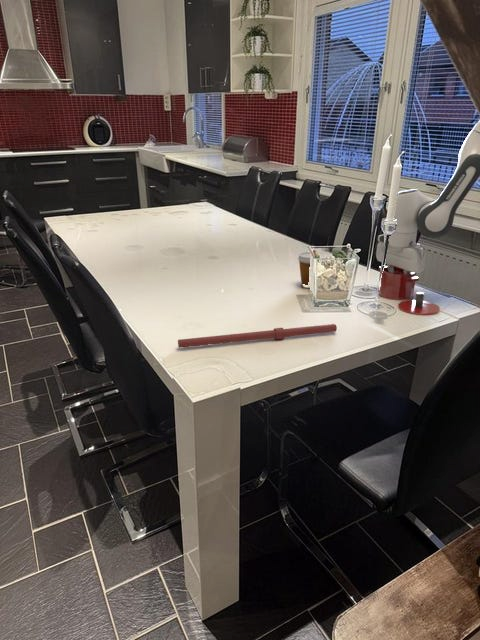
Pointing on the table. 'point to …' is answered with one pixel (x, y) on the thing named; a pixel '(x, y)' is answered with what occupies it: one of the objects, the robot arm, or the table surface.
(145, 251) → the table surface
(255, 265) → the table surface
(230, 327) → the table surface
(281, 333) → the dark red rod
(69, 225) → the table surface
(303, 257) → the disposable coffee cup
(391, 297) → the red cooking pot
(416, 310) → the lid
